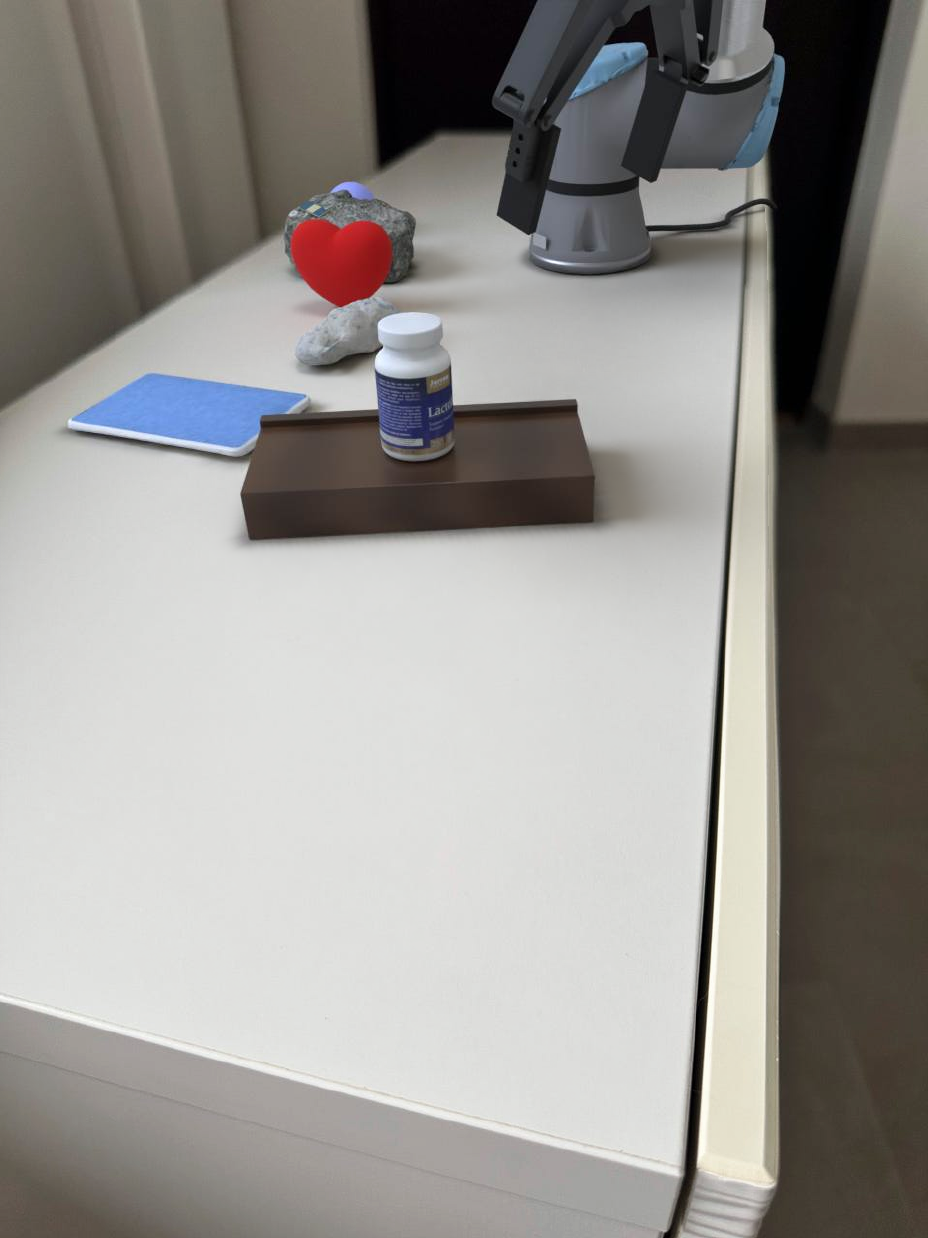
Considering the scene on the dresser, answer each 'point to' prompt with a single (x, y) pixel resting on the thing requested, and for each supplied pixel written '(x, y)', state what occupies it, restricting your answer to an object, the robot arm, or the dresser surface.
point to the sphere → (355, 190)
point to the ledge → (419, 473)
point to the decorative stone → (345, 332)
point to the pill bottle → (414, 387)
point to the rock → (349, 209)
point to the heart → (342, 259)
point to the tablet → (188, 413)
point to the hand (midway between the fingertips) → (580, 197)
